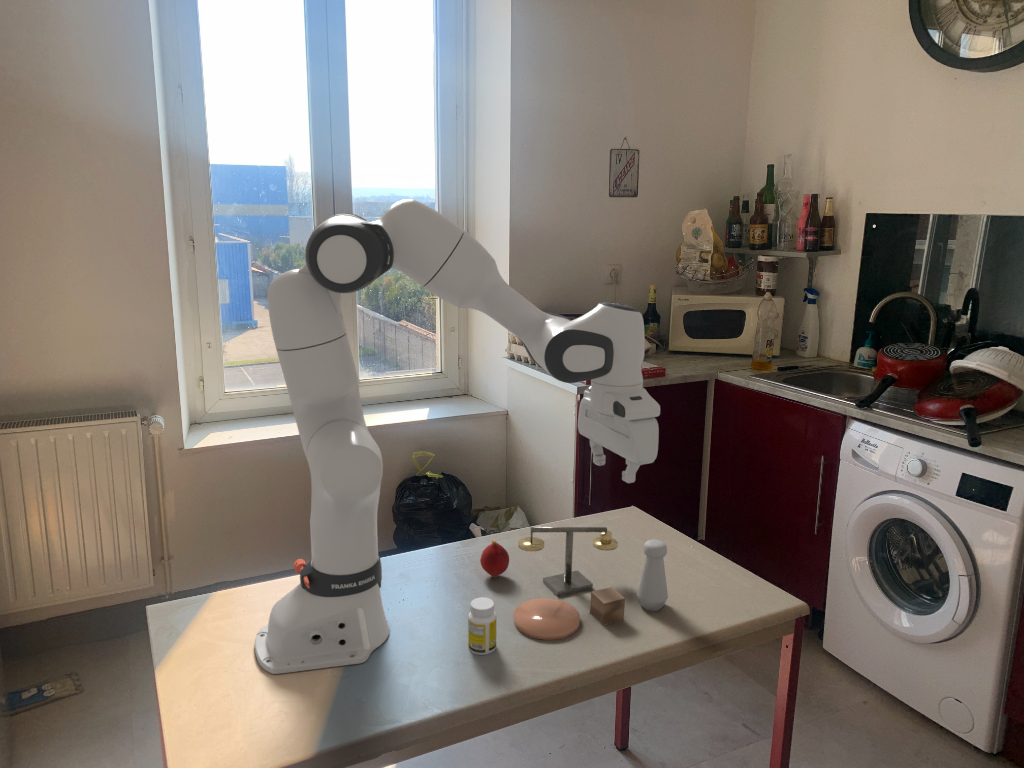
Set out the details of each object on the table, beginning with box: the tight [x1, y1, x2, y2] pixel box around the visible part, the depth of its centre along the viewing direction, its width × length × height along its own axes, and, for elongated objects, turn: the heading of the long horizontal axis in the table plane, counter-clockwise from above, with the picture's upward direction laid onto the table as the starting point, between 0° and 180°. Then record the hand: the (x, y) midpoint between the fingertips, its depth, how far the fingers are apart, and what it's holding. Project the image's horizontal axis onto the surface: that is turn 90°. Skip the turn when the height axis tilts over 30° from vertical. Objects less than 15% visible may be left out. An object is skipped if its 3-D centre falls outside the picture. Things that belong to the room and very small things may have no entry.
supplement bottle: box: [467, 596, 497, 656], centre depth 125 cm, size 5×5×8 cm
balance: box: [517, 526, 619, 597], centre depth 145 cm, size 22×6×14 cm, turn 115°
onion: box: [479, 539, 510, 578], centre depth 149 cm, size 6×6×8 cm
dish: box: [513, 597, 581, 641], centre depth 134 cm, size 12×12×1 cm
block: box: [589, 586, 626, 626], centre depth 135 cm, size 4×4×4 cm
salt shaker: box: [636, 539, 669, 612], centre depth 139 cm, size 6×6×13 cm
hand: (613, 472), depth 130 cm, fingers open, 8 cm apart
